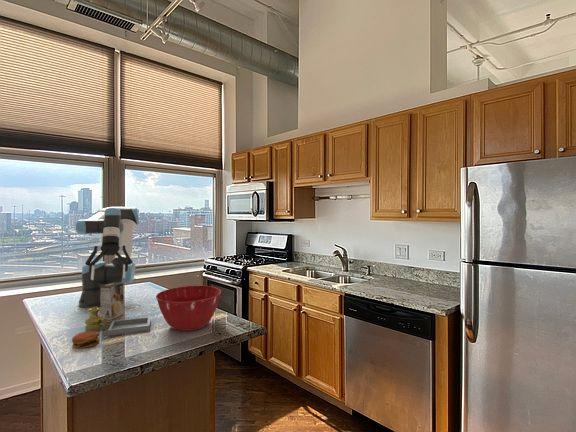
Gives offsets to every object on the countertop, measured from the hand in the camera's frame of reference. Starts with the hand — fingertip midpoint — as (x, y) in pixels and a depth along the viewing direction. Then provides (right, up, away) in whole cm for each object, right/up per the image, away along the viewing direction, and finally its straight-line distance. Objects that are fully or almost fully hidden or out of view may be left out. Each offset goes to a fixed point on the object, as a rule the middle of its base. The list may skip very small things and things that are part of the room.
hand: (108, 279), depth 162 cm
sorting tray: (+16, -20, -12) cm, 28 cm away
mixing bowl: (+42, -20, -9) cm, 47 cm away
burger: (+7, -21, -29) cm, 36 cm away
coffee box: (-1, -20, +5) cm, 21 cm away
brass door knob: (0, -20, -12) cm, 24 cm away
